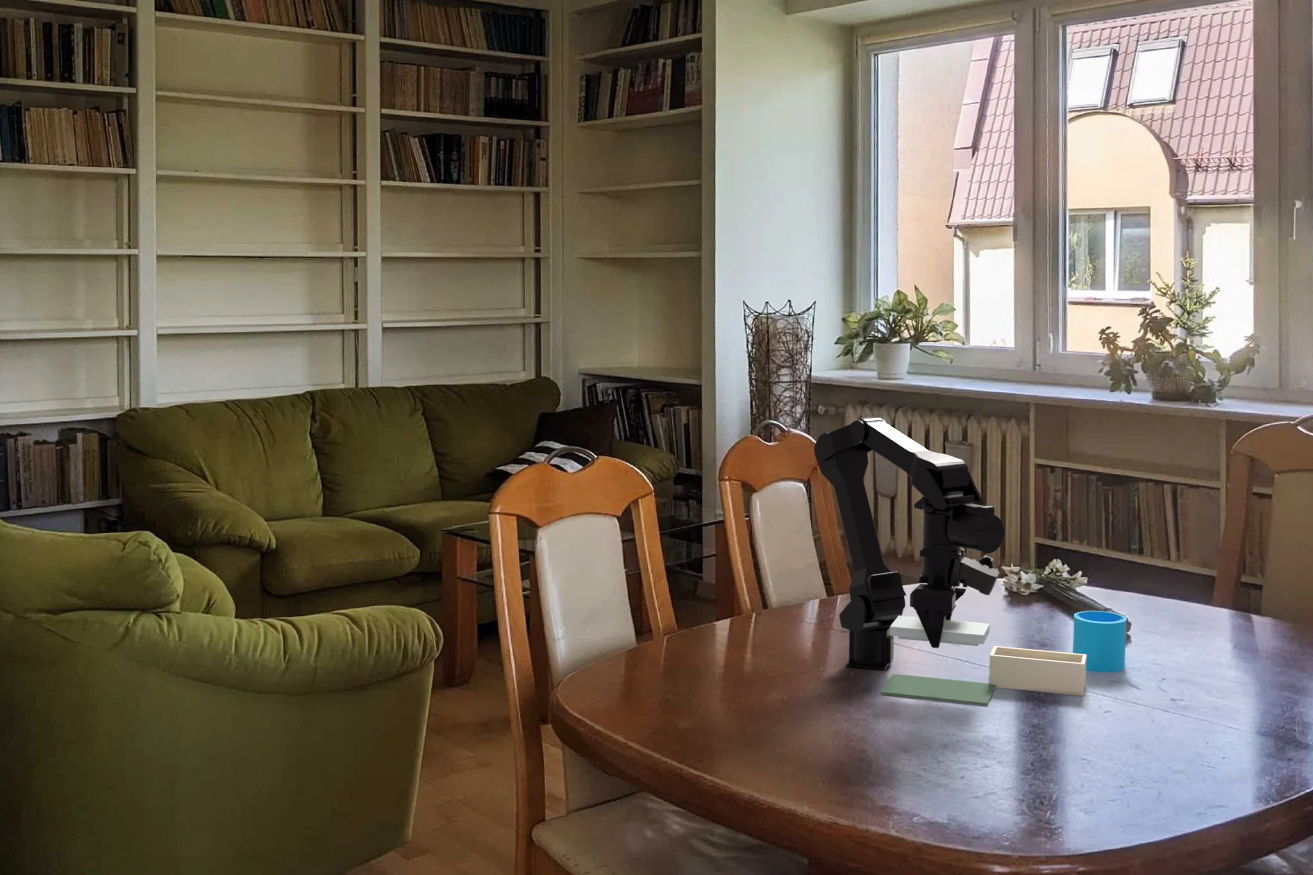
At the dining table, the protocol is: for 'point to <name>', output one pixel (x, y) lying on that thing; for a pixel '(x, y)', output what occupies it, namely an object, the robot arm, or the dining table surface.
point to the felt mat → (939, 689)
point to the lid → (951, 632)
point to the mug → (1100, 640)
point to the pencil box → (1038, 670)
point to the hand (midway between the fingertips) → (939, 641)
